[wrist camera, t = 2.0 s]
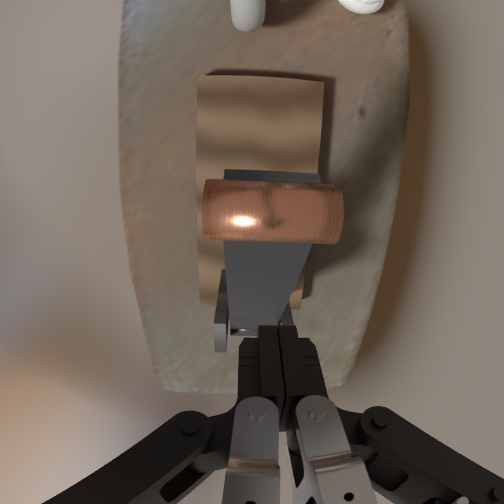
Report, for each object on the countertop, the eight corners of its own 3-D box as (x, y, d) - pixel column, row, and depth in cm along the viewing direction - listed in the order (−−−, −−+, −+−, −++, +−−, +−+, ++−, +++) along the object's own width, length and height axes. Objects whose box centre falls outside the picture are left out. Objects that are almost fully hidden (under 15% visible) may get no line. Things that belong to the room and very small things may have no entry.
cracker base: (200, 77, 31) (176, 60, 19) (320, 83, 31) (357, 71, 20) (202, 298, 44) (189, 362, 32) (298, 301, 44) (313, 365, 33)
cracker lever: (213, 127, 16) (199, 216, 13) (328, 134, 16) (347, 222, 13) (225, 292, 37) (223, 342, 34) (278, 294, 37) (279, 343, 34)
